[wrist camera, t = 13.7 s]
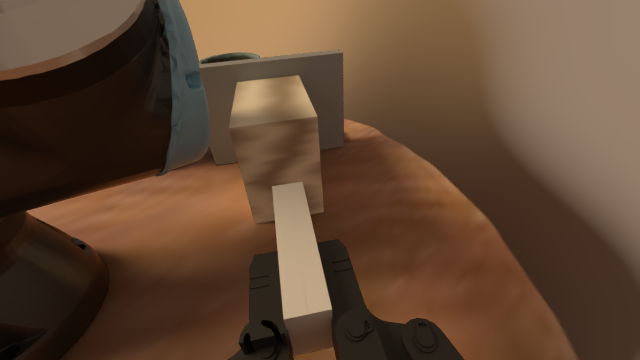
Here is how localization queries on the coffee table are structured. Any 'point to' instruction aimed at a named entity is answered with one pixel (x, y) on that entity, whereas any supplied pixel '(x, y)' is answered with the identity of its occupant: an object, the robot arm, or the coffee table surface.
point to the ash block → (276, 142)
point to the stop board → (313, 69)
